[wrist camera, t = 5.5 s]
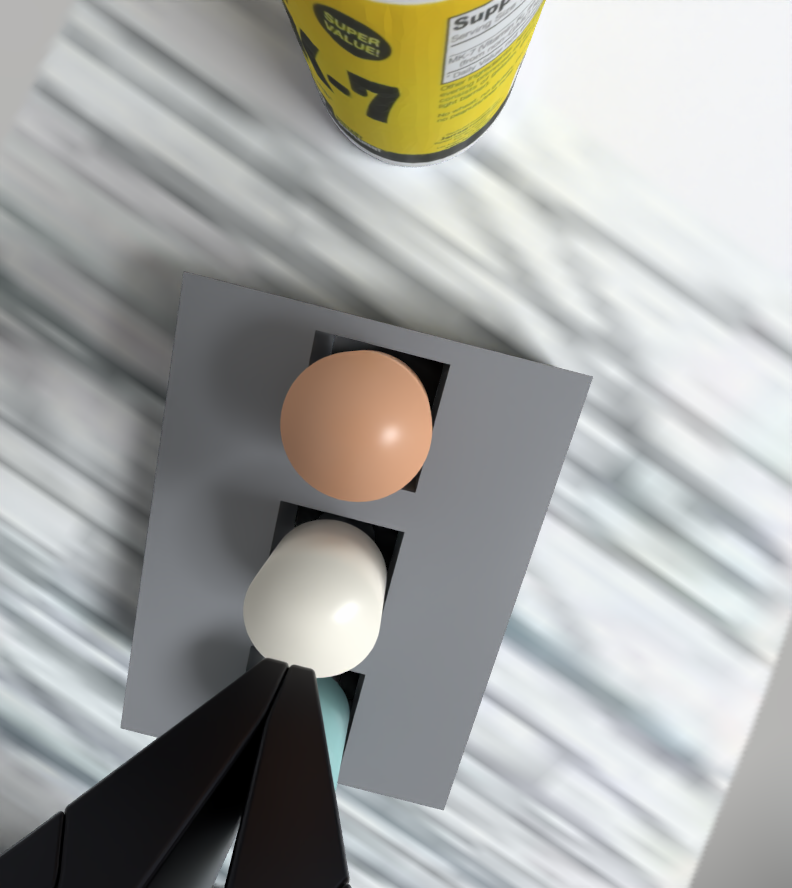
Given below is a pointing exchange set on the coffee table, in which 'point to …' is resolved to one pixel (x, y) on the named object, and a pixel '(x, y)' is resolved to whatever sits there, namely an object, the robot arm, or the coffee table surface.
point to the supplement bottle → (414, 69)
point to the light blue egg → (334, 719)
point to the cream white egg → (319, 596)
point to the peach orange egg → (357, 425)
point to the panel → (408, 510)
